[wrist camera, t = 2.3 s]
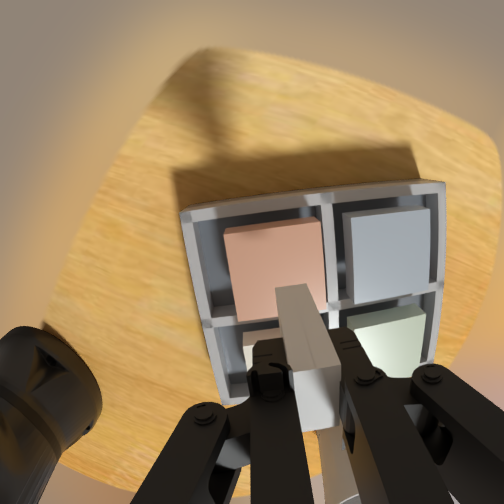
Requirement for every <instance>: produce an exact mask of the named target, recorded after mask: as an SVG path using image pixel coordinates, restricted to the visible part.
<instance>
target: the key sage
mask: <svg viewBox="0 0 504 504" xmlns="http://www.w3.org/2000/svg"><path fill="white" fill-rule="evenodd" d="M425 320H426V313H425V312H424V311H423V310H422V309H421V308H420V307H418V306H417V305H416V304H415V303H414V304H409V305H405V306H400V307H395V308H390V309H385V310H381V311H376V312H370V313H365V314H360V315H355V316H349V317H347V328H349V329H350V330H352V331H354V332H355V334H356V336H357V338H358V340H359V341H360V343H361V345H362V347H363V348H364V350H365V352H366V354H367V355H368V357H369V359H370V361H371V363H372V365H373V366H375V367H377V368H380V369H382V370H383V371H384V372H385V373H386V375H387V376H388V377H393V378H408V377H412V373H413V371H414V370H415V369H416V368H417V367H419V364H420V358H421V351H422V344H423V337H424V329H425Z"/></svg>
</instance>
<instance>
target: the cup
mask: <svg viewBox="0 0 504 504" xmlns="http://www.w3.org/2000/svg"><path fill="white" fill-rule="evenodd" d="M342 432H343V425H342V421H341V418H340V425H339V426H335V427H330V428H325V429H319V430H316V433H317V438H318V443H319V451H320V459H321V468H322V476H323V485H324V495H325V504H361V500H360V496H359V493H358V489H357V485H356V482H355V478H354V475H353V471H352V468H351V464H350V461H349V457H348V454H347V450H346V447H345V450H342Z"/></svg>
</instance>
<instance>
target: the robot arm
mask: <svg viewBox="0 0 504 504" xmlns="http://www.w3.org/2000/svg"><path fill="white" fill-rule="evenodd" d="M275 294H276V302H277V311H278V319H279V328H280V336H281V338H273V339H266V340H257V342H256V343H255V345H254V346H253V348H252V364H253V365H252V367H251V368H250V369H249V370H248V372H247V375H246V378H247V383H248V389H249V394H250V397H249V398H248V399H247V400H246V401H244V402H242V403H241V404H239V405H236V406H234V407H230V408H227V409H225V408H224V407H223V406H222V405H220V404H218V403H214V402H202V403H199V404H195V405H194V406H192V407H190V408H188V410H187V411H186V412H185V413H184V414H183V416H182V418H181V419H180V421H179V423H178V424H177V426H176V428H175V429H174V431H173V433H172V435H171V436H170V438H169V440H168V441H167V443H166V445H165V446H164V448H163V450H162V451H161V453H160V455H159V456H158V458H157V460H156V461H155V463H154V465H153V466H152V468H151V470H150V471H149V473H148V475H147V476H146V478H145V480H144V481H143V483H142V485H141V486H140V488H139V489H138V491H137V493H136V494H135V496H134V498H133V499H132V501H131V503H130V504H229V503H230V500H231V497H232V495H233V492H234V489H235V486H236V483H237V481H238V478H239V475H240V472H241V467H243V466H246V465H249V464H250V478H251V504H314V499H313V493H312V487H311V481H310V475H309V469H308V464H307V458H306V452H305V446H304V441H303V435H302V432H307V431H313V430H319V429H325V428H330V427H335V426H339V425H340V418H341V421H342V425H343V432H342V450H345V447H346V450H347V454H348V457H349V461H350V464H351V468H352V471H353V475H354V478H355V482H356V485H357V489H358V493H359V496H360V500H361V504H454V502H453V500H452V498H451V495H450V494H449V492H450V493H451V494H452V495H453V496H454V497H455V498H456V500H457V501H458V502H459V503H460V504H504V411H503V410H501V409H500V408H499V407H497V406H496V405H495V404H493V403H492V402H491V401H490V400H488V399H487V398H486V397H484V396H483V395H482V394H480V393H479V392H478V391H476V390H475V389H474V388H473V387H471V386H470V385H469V384H467V383H466V382H464V381H463V380H462V379H460V378H459V377H458V376H456V375H455V374H454V373H453V372H451V371H450V370H449V369H447V368H445V367H444V366H442V365H438V364H424V365H421V366H419V367H417V368H416V369H415V370H414V371H413V373H412V377H408V378H393V377H388V376H387V375H386V373H385V372H384V371H383V370H382V369H380V368H377V367H375V366H373V365H372V363H371V361H370V359H369V357H368V355H367V354H366V352H365V350H364V348H363V347H362V345H361V343H360V341H359V340H358V338H357V336H356V334H355V332H354V331H352V330H350V329H349V328H347V327H346V326H345V327H340V328H334V329H328V330H326V327H325V325H324V323H323V320H322V318H321V316H320V313H319V311H318V309H317V306H316V304H315V302H314V300H313V297H312V295H311V293H310V290H309V288H308V286H307V284H306V283H304V284H297V285H290V286H283V287H275ZM101 411H102V396H101V392H100V389H99V387H98V384H97V382H96V380H95V378H94V377H93V375H92V373H91V372H90V370H89V369H88V368H87V366H86V365H85V364H84V362H83V361H82V360H81V359H80V358H79V357H78V356H77V355H76V354H75V353H74V352H73V351H72V350H71V349H70V348H69V347H68V346H67V345H65V344H64V343H63V342H62V341H60V340H59V339H57V338H56V337H54V336H53V335H51V334H49V333H47V332H45V331H43V330H40V329H37V328H33V327H29V326H20V327H16V328H14V329H12V330H11V331H9V332H8V333H7V334H6V335H5V336H4V337H2V338H1V339H0V504H38V502H39V500H40V498H41V496H42V494H43V492H44V489H45V487H46V485H47V483H48V481H49V479H50V477H51V475H52V472H53V471H54V468H55V466H56V464H57V462H58V460H59V458H60V457H61V455H62V453H63V452H64V451H65V450H67V449H68V448H69V447H70V446H72V445H73V444H74V443H76V442H77V441H78V440H79V439H80V438H81V437H82V436H83V435H85V434H87V433H88V432H89V431H91V429H92V428H93V427H94V425H95V424H96V422H97V420H98V418H99V416H100V414H101Z"/></svg>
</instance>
